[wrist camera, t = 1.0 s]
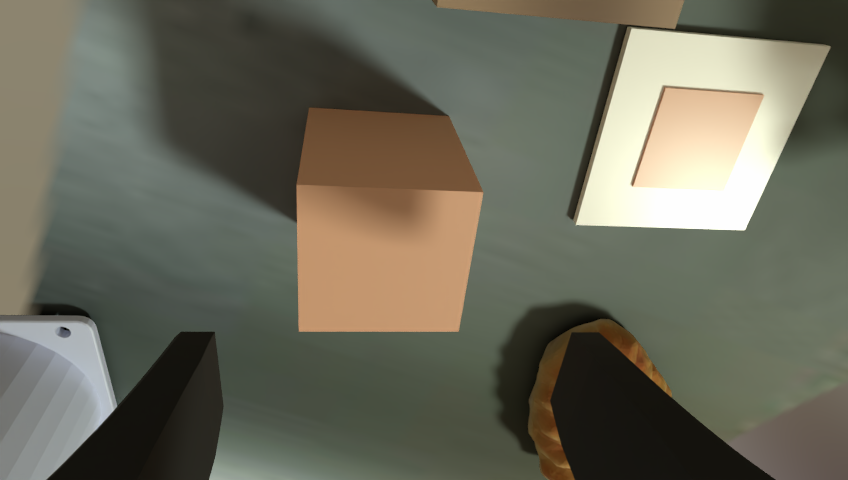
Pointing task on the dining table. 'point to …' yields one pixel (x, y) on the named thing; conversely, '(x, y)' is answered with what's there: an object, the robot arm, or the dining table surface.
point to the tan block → (383, 222)
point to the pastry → (549, 367)
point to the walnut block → (582, 10)
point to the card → (694, 128)
